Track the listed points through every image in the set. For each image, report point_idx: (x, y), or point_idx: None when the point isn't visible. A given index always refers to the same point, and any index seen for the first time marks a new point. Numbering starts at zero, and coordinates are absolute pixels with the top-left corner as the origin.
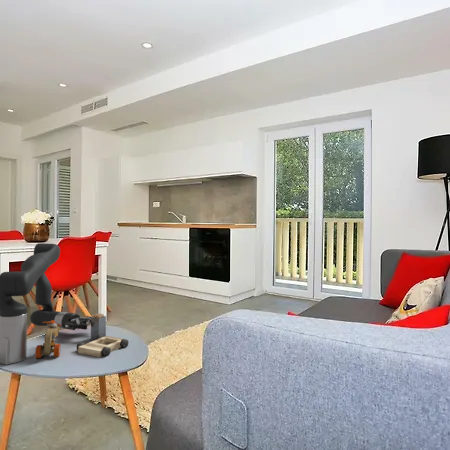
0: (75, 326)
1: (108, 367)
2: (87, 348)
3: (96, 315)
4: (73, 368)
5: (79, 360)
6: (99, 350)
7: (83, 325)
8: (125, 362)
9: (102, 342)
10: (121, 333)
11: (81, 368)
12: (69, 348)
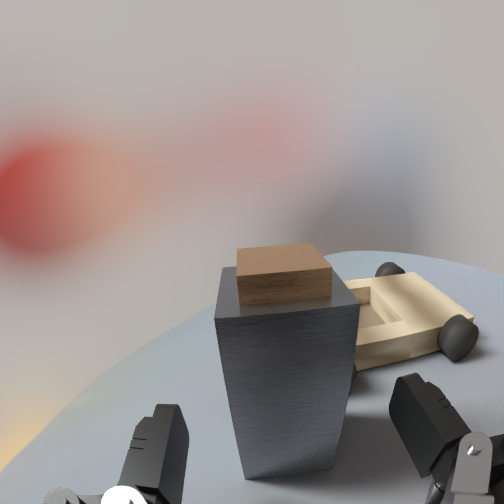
0: (498, 442)
1: (411, 259)
2: (444, 295)
3: (319, 253)
4: (482, 280)
5: (467, 300)
6: (412, 274)
7: (431, 394)
8: (369, 258)
9: None
10: (120, 399)
11: (465, 274)
12: (496, 398)
